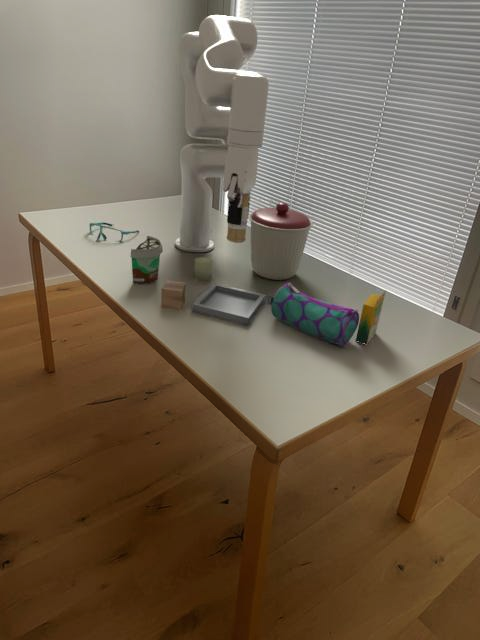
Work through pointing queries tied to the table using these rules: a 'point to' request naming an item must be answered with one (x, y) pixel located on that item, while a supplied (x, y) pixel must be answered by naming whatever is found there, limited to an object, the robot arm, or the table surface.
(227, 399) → the table surface
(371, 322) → the crayon box
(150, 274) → the food container
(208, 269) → the olive cylinder
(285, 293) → the pencil case
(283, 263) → the canister
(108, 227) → the teal glasses
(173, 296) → the brown wooden cube
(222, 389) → the table surface
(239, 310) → the slate tray
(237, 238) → the sprinkles bottle
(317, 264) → the table surface
